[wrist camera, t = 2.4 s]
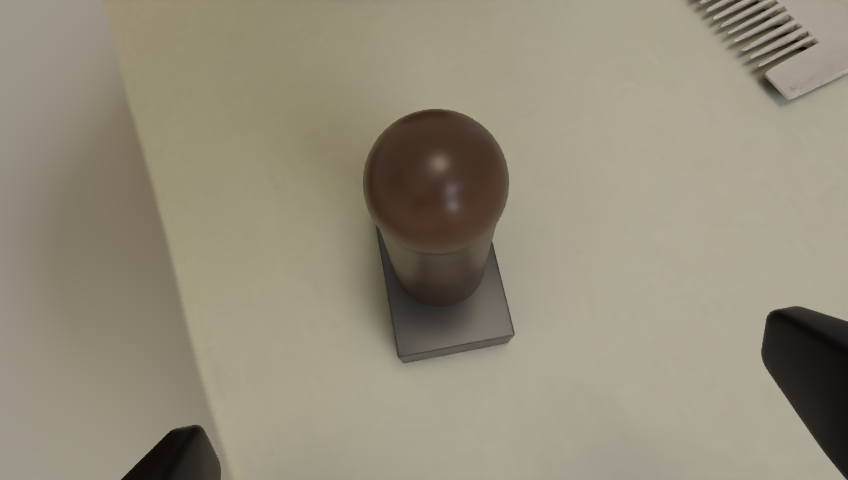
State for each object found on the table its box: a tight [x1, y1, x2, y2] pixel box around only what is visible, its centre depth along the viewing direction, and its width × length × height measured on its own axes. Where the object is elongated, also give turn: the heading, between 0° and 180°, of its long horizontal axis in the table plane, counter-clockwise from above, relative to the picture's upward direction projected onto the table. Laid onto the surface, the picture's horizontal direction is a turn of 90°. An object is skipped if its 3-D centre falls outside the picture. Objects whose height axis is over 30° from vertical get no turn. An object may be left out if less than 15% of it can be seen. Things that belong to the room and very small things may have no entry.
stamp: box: [363, 109, 515, 363], centre depth 16 cm, size 6×4×10 cm, turn 11°
